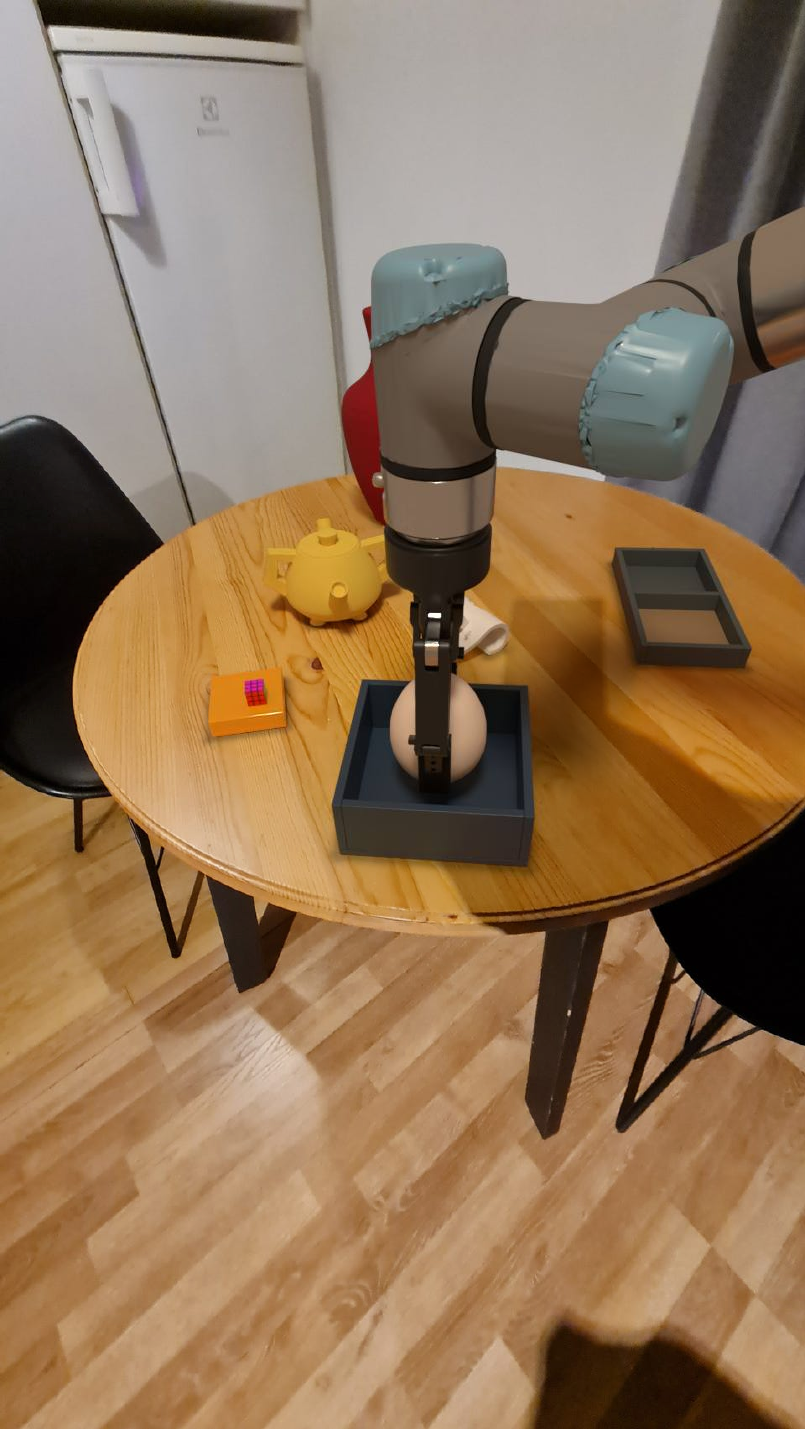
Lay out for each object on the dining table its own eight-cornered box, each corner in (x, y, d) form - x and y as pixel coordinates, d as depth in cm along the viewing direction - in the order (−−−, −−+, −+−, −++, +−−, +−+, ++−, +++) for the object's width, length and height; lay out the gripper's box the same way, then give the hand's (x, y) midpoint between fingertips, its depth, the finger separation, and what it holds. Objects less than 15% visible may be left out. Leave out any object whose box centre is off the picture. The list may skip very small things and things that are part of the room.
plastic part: (508, 647, 81) (516, 563, 73) (443, 677, 77) (445, 591, 69) (469, 619, 85) (474, 537, 77) (407, 646, 81) (404, 562, 73)
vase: (376, 548, 101) (361, 326, 80) (336, 512, 110) (313, 306, 90) (457, 524, 106) (462, 309, 85) (412, 492, 115) (407, 292, 95)
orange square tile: (212, 737, 71) (202, 708, 68) (215, 690, 76) (207, 662, 74) (286, 727, 71) (280, 697, 68) (284, 681, 77) (278, 652, 74)
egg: (481, 739, 65) (486, 646, 57) (487, 807, 59) (494, 712, 51) (394, 740, 65) (388, 647, 58) (390, 807, 59) (383, 713, 51)
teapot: (415, 640, 82) (413, 561, 75) (273, 660, 80) (255, 581, 73) (388, 563, 97) (384, 490, 89) (267, 579, 95) (252, 505, 87)
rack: (699, 566, 93) (704, 548, 91) (744, 668, 76) (752, 648, 74) (611, 564, 94) (615, 547, 92) (636, 664, 77) (641, 645, 75)
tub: (522, 734, 69) (528, 685, 64) (527, 867, 57) (534, 817, 52) (367, 727, 71) (362, 678, 66) (339, 854, 59) (331, 805, 54)
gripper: (400, 461, 53) (409, 676, 69) (359, 605, 38) (383, 843, 53) (493, 461, 53) (481, 679, 68) (491, 608, 37) (476, 849, 52)
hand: (438, 751), depth 60 cm, fingers closed on egg, 9 cm apart
